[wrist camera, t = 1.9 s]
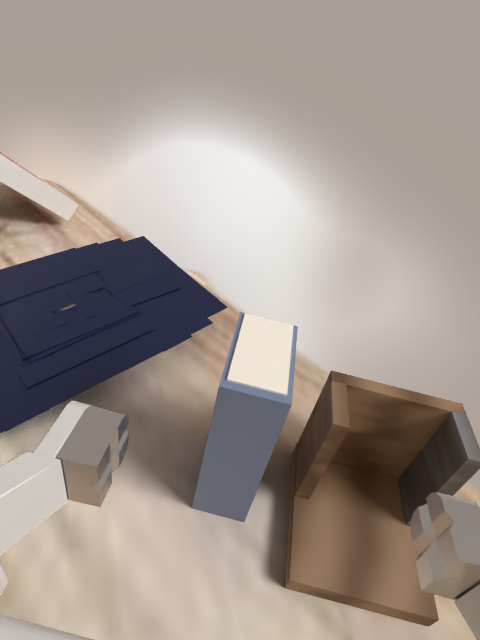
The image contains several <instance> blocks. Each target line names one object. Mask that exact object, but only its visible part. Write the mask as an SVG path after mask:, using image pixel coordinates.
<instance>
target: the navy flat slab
mask: <svg viewBox="0 0 480 640" xmlns="http://www.w3.org/2000/svg"><path fill="white" fill-rule="evenodd" d="M226 308H228V307H227V306H226V305H224V304H223V303H222V302H221V301H219V300H218V299H217V298H216V297H215V296H213V295H212V294H211V293H210V292H208V291H207V290H206V289H205V288H204V287H202V286H201V285H200V284H199V283H198V282H196V281H195V280H194V279H193V278H191V277H190V276H189V275H188V274H187V273H185V272H184V271H183V270H182V269H180V268H179V267H178V266H177V265H176V264H175V263H173V262H172V261H171V260H170V259H169V258H168V257H167V256H166V255H164V254H163V253H162V252H161V251H160V250H159V249H158V248H156V247H155V246H154V245H153V244H152V243H150V241H148V240H147V239H146V238H145V237H144V236H142V237H138V238H135V239H132V240H128V241H125V242H123V241H122V240H121V239H120V238H119V239H115V240H111V241H108V242H104V243H101V244H98V243H94V244H91V245H87V246H84V247H80V248H77V249H75V248H73V249H69V250H66V251H62V252H59V253H56V254H52V255H49V256H45V257H42V258H38V259H35V260H32V261H28V262H25V263H21V264H18V265H15V266H11V267H8V268H4V269H1V270H0V433H1V432H3V431H5V432H6V431H8V430H9V429H11V428H13V427H15V426H17V425H19V424H21V423H23V422H25V421H27V420H29V419H31V418H33V417H35V416H37V415H39V414H41V413H43V412H45V411H47V410H49V408H51V407H53V406H55V405H57V404H59V403H61V402H63V401H65V400H67V399H69V398H71V397H73V396H75V395H77V394H79V393H81V392H83V391H85V390H87V389H89V388H91V387H93V386H95V385H97V384H99V383H101V382H103V381H105V380H107V379H109V378H111V377H113V376H115V375H117V374H119V373H121V372H123V371H125V370H127V369H129V368H131V367H133V366H135V365H137V364H139V363H141V362H143V361H145V360H147V359H149V358H151V357H153V356H155V355H157V354H159V353H161V352H163V351H166V350H168V349H170V348H172V347H174V346H176V345H177V344H179V343H181V342H183V341H185V340H187V339H189V338H191V337H192V336H191V334H192V333H194V332H196V331H198V330H200V329H202V328H204V327H206V326H208V325H210V324H212V323H213V322H211V321H210V320H209V319H208V317H210V316H212V315H214V314H216V313H218V312H220V311H222V310H224V309H226Z"/></svg>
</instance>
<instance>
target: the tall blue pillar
mask: <svg viewBox="0 0 480 640" xmlns="http://www.w3.org/2000/svg"><path fill="white" fill-rule="evenodd" d="M296 340H297V326H293V325H290V324H286V323H282V322H278V321H274V320H270V319H266V318H262V317H258V316H254V315H250V314H246V313H242V312H241V313H240V316H239V319H238V323H237V326H236V330H235V333H234V337H233V340H232V344H231V347H230V350H229V354H228V357H227V361H226V364H225V368H224V371H223V375H222V378H221V381H220V385H219V389H218V393H217V398H216V402H215V407H214V411H213V416H212V420H211V425H210V429H209V434H208V438H207V443H206V447H205V452H204V456H203V461H202V465H201V469H200V474H199V478H198V483H197V487H196V492H195V496H194V501H193V505H192V508H193V509H197V510H201V511H204V512H208V513H212V514H216V515H220V516H223V517H227V518H231V519H235V520H238V521H242V522H244V521H245V519H246V516H247V514H248V511H249V509H250V506H251V504H252V501H253V499H254V496H255V494H256V491H257V489H258V487H259V484H260V482H261V479H262V477H263V474H264V472H265V469H266V467H267V464H268V462H269V459H270V457H271V454H272V452H273V450H274V447H275V445H276V442H277V440H278V437H279V435H280V432H281V430H282V427H283V425H284V422H285V420H286V417H287V415H288V412H289V410H290V408H291V405H292V392H293V380H294V367H295V354H296Z"/></svg>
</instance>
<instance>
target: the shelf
mask: <svg viewBox="0 0 480 640" xmlns="http://www.w3.org/2000/svg"><path fill="white" fill-rule="evenodd" d="M479 469H480V448H479V445H478V443H477V440H476V438H475V435H474V433H473V430H472V427H471V425H470V422H469V420H468V417H467V415H466V412H465V410H464V407H463V404H461V403H457V402H452V401H449V400H445V399H441V398H437V397H433V396H429V395H425V394H421V393H417V392H413V391H409V390H405V389H402V388H397V387H394V386H390V385H386V384H382V383H378V382H374V381H370V380H366V379H362V378H358V377H354V376H350V375H347V374H342V373H339V372H335V371H331V372H330V374H329V377H328V379H327V381H326V383H325V385H324V387H323V390H322V392H321V394H320V396H319V398H318V400H317V403H316V405H315V407H314V409H313V411H312V413H311V416H310V418H309V420H308V422H307V424H306V426H305V429H304V431H303V433H302V435H301V437H300V439H299V442H298V443H297V445H296V447H295V449H294V451H293V464H292V480H291V495H290V511H289V526H288V542H287V558H286V573H285V588H287V589H291V590H295V591H298V592H302V593H306V594H310V595H313V596H317V597H321V598H325V599H328V600H332V601H336V602H339V603H343V604H347V605H351V606H354V607H358V608H362V609H366V610H369V611H373V612H377V613H381V614H384V615H388V616H392V617H395V618H399V619H403V620H407V621H410V622H414V623H418V624H422V625H425V626H430V625H432V624H433V623H435V622H436V621H438V620H439V619H438V614H437V609H436V604H435V599H434V594H432V593H428V592H425V591H422V590H421V587H420V582H419V577H418V572H417V566H416V560H417V558H418V556H419V554H420V553H419V552H418V550H417V549H416V548H415V546H414V545H413V543H412V539H411V533H410V523H411V519H412V515H413V513H414V511H415V510H416V509H417V508H418V507H419V506H423V505H426V504H427V501H426V498H427V497H428V495H429V494H430V493H434V492H437V493H442V494H446V495H450V496H453V495H454V494H455V493H456V492H457V491H458V490H459V489H460V488H461V487H462V486H463V485H464V484H465V483H466V482H467V481H468V480H469V479H470V478H471V477H472V476H473V475H474V474H475V473H476V472H477V471H478V470H479Z"/></svg>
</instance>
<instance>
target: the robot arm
mask: <svg viewBox="0 0 480 640" xmlns="http://www.w3.org/2000/svg"><path fill="white" fill-rule="evenodd" d="M128 423H129V422H128V415H126V414H122V413H118V412H115V411H111V410H107V409H103V408H100V407H96V406H92V405H89V404H85V403H81V402H77V401H73V400H72V401H71V402H69V403H68V404H67V405H66V406H65V408H64V409H63V410H62V412H61V413H60V415H59V416H58V418H57V419H56V421H55V422H54V423H53V425H52V426H51V428H50V429H49V431H48V432H47V433H46V435H45V436H44V438H43V439H42V441H41V442H40V443H39V445H38V446H37V448H36V449H35V451H34V452H30V451H27V452H25V453H23V454H22V455H20V456H18V457H16V458H14V459H13V460H11V461H9V462H7V463H5V464H4V465H2V466H0V556H1V555H2V554H3V553H4V552H6V551H7V550H8V549H9V548H11V547H12V546H13V545H14V544H16V543H17V542H18V541H19V540H21V539H22V538H23V537H24V536H26V535H27V534H28V533H29V532H31V531H32V530H33V529H34V528H36V527H37V526H38V525H39V524H41V523H42V522H43V521H45V520H46V519H47V518H48V517H50V516H51V515H52V514H53V513H55V512H56V511H57V510H58V509H60V508H61V507H62V506H63V505H65V504H66V503H67V502H68V500H72V501H76V502H80V503H85V504H89V505H94V506H98V507H101V505H102V503H103V500H104V498H105V496H106V494H107V492H108V490H109V488H110V486H111V484H112V475H111V473H112V472H113V471H115V470H116V469H118V468H119V467H120V464H121V462H122V460H123V458H124V455H125V452H126V448H127V444H128V434H129V433H128V432H127V431H126V430H125V429H126V427H127V425H128ZM426 501H427V504H426V505H423V506H419V507H418V508H417V509H416V510H415V511H414V513H413V515H412V519H411V523H410V533H411V539H412V543H413V545H414V546H415V548H416V549H417V550H418V552H419V553H420V554H419V556H418V558H417V560H416V566H417V572H418V577H419V582H420V587H421V590H422V591H425V592H428V593H432V594H435V595H439V596H442V597H446V598H449V599H453V600H456V601H455V604H456V606H457V607H458V609H459V611H460V612H461V614H462V616H463V617H464V619H465V621H466V622H467V624H468V626H469V627H470V629H471V630H472V632H473V634H474V635H475V637H476V639H477V640H480V503H477V502H473V501H472V500H467V499H463V498H459V497H455V496H450V495H446V494H442V493H437V492H434V493H430V494H429V495H428V497H427V498H426ZM7 583H8V578H7V574H6V572H5V570H4V568H3V566H2V564H1V562H0V595H1V594H2V592H3V590H4V588H5V586H6V585H7ZM0 640H94V639H90V638H86V637H82V636H79V635H75V634H71V633H68V632H64V631H60V630H56V629H53V628H49V627H45V626H42V625H38V624H34V623H30V622H27V621H23V620H19V619H16V618H12V617H8V616H5V615H1V614H0Z"/></svg>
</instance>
